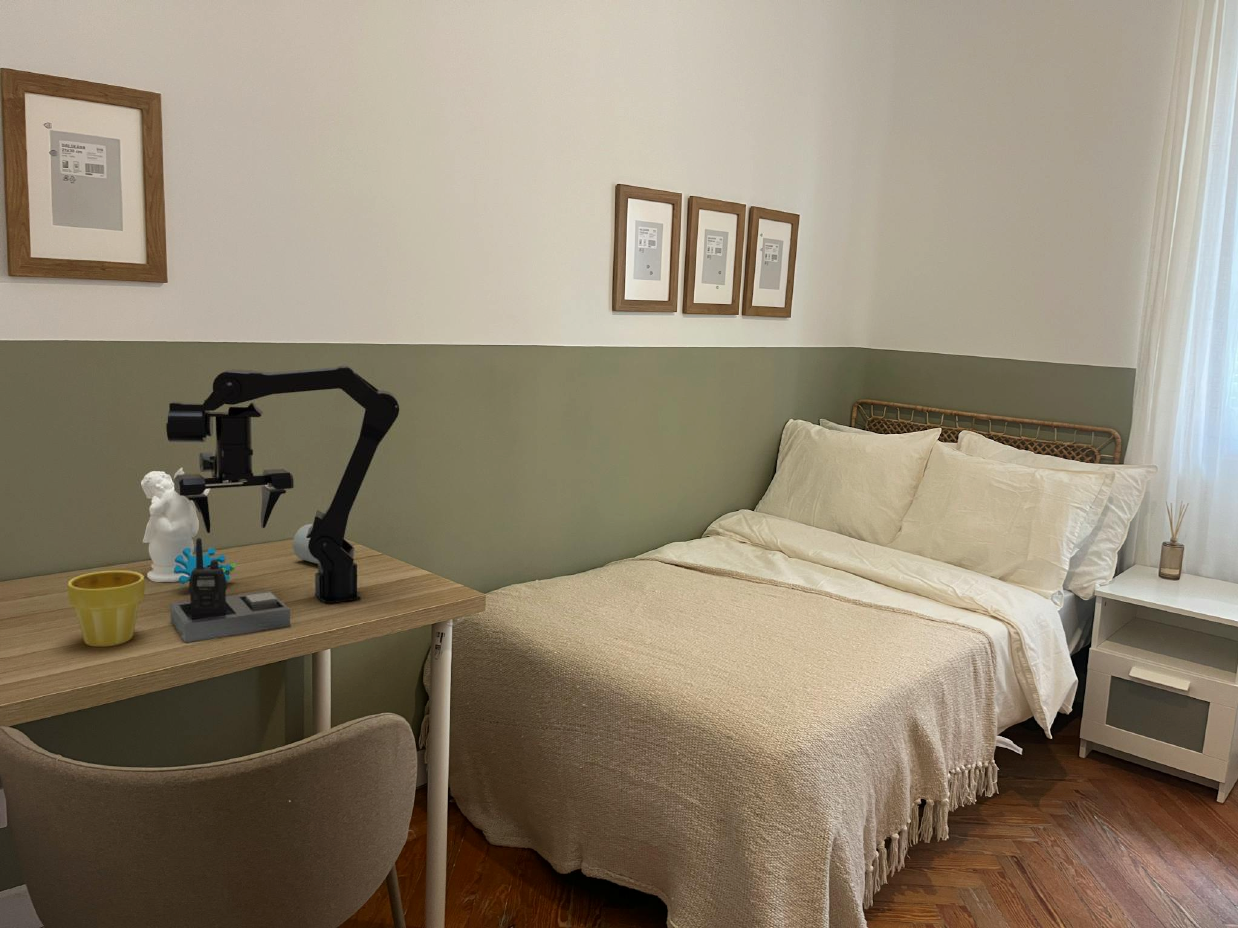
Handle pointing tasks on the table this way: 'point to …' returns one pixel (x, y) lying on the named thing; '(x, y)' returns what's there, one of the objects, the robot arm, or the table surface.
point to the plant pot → (106, 605)
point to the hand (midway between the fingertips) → (236, 529)
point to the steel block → (261, 601)
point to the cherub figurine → (168, 525)
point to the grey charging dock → (228, 619)
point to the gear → (206, 561)
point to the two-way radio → (207, 588)
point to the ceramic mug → (303, 545)
